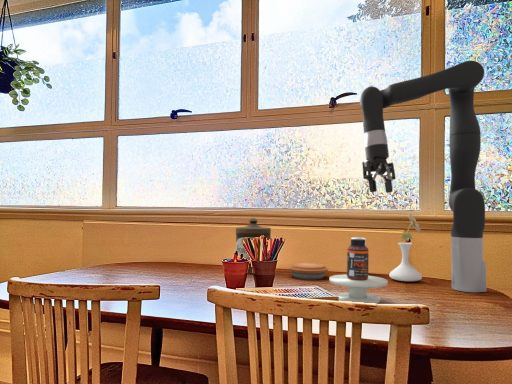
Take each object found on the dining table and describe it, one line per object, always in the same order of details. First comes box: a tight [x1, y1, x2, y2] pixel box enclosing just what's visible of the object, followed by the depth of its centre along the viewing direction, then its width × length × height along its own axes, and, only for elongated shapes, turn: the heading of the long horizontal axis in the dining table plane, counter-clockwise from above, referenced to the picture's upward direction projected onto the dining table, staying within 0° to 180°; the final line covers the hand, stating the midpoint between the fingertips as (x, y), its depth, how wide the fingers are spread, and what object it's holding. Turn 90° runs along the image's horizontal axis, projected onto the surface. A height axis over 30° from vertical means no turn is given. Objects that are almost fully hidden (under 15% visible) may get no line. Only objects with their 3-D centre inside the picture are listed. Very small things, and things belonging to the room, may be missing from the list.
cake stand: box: [328, 273, 389, 304], centre depth 110 cm, size 16×16×6 cm
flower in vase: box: [388, 212, 423, 283], centre depth 144 cm, size 13×11×25 cm
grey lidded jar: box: [235, 217, 272, 275], centre depth 161 cm, size 15×15×22 cm
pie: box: [287, 262, 330, 280], centre depth 149 cm, size 15×16×5 cm
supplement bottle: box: [346, 238, 370, 280], centre depth 111 cm, size 6×6×11 cm
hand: (381, 192), depth 131 cm, fingers open, 8 cm apart
